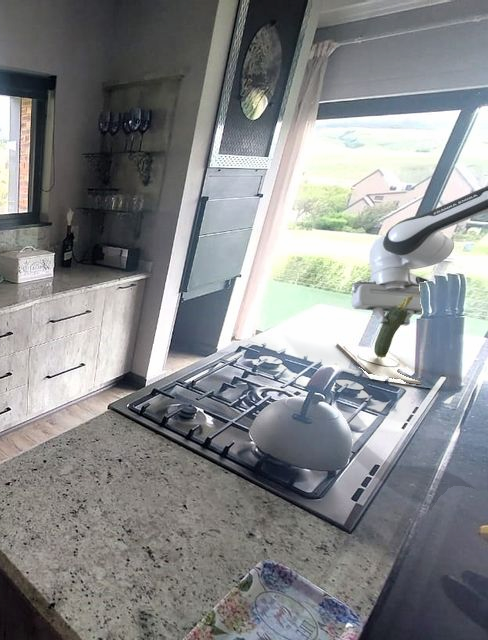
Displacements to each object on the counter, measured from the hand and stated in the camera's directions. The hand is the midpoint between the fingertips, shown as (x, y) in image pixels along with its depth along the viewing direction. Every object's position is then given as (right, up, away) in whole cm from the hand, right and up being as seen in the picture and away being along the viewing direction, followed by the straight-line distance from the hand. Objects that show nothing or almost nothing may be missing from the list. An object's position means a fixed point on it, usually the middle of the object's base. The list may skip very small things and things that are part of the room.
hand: (394, 323), depth 122 cm
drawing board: (-2, -13, +3) cm, 13 cm away
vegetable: (0, -10, +6) cm, 12 cm away
